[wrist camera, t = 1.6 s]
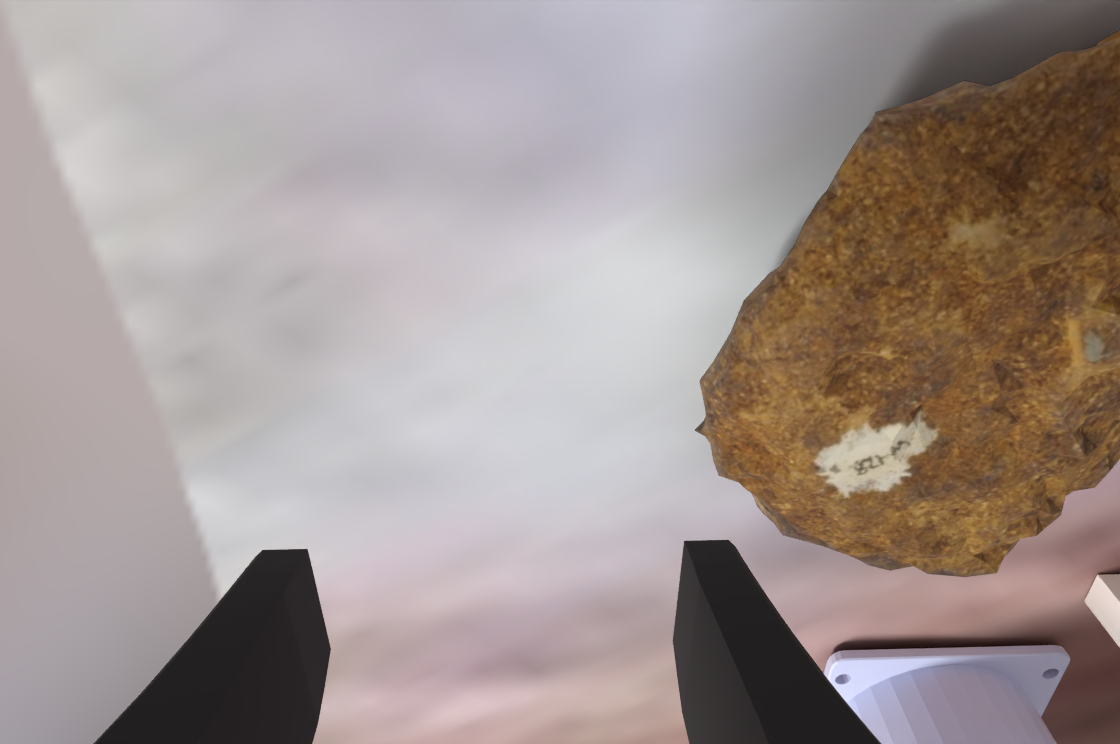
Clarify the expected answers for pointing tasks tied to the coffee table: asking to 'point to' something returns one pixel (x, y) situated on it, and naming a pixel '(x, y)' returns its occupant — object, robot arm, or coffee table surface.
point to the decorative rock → (940, 329)
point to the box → (1106, 603)
